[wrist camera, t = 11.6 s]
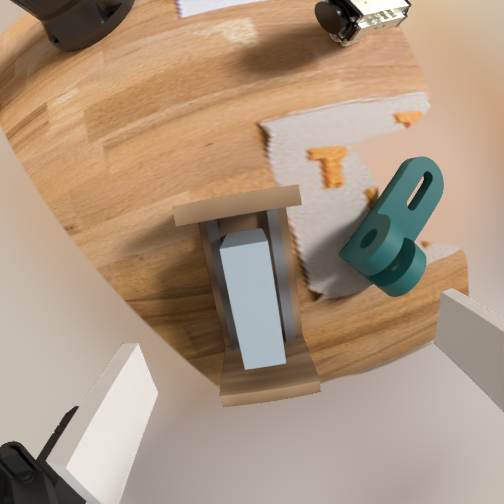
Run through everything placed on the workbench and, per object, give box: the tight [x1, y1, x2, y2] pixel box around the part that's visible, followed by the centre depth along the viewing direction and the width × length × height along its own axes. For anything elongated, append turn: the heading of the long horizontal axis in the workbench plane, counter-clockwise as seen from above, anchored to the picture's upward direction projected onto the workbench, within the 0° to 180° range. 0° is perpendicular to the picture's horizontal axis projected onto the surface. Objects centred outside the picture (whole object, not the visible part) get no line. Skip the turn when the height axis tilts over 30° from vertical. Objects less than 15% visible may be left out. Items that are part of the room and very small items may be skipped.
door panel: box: [220, 228, 286, 370], centre depth 29 cm, size 12×4×9 cm, turn 10°
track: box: [172, 185, 320, 407], centre depth 29 cm, size 20×10×11 cm, turn 10°
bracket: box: [339, 157, 444, 297], centre depth 29 cm, size 18×7×8 cm, turn 144°
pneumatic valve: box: [315, 0, 411, 47], centre depth 22 cm, size 6×12×12 cm, turn 123°
